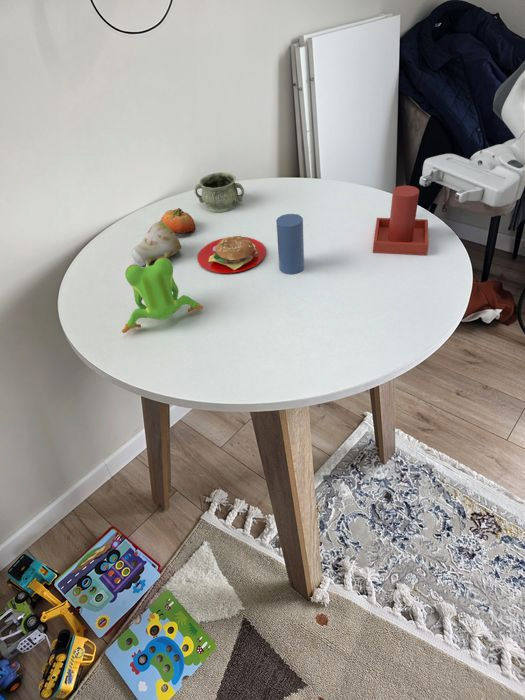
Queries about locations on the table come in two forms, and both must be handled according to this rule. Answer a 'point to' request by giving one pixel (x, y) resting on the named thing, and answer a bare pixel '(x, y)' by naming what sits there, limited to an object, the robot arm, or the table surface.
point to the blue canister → (290, 243)
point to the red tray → (413, 248)
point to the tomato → (179, 221)
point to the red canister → (403, 213)
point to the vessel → (219, 192)
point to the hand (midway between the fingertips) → (439, 189)
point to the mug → (156, 244)
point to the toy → (155, 292)
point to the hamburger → (231, 254)
